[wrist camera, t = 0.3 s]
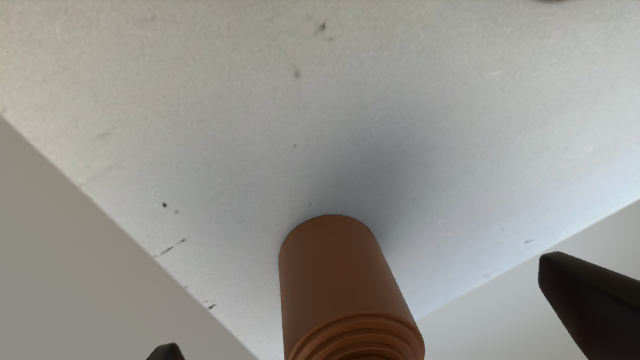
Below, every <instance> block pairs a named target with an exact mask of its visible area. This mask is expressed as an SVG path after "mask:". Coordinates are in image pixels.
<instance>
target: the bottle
mask: <svg viewBox="0 0 640 360" xmlns="http://www.w3.org/2000/svg"><path fill="white" fill-rule="evenodd" d="M278 263H279V279H280V296H281V312H282V328H283V344H284V360H424V356H425V346H424V341H423V337H422V335H421V333H420V331H419V329H418V327H417V325H416V323H415V320H414V318H413V316H412V314H411V312H410V310H409V308H408V306H407V304H406V302H405V299H404V297H403V295H402V293H401V291H400V289H399V287H398V285H397V283H396V281H395V278H394V276H393V274H392V272H391V270H390V268H389V266H388V264H387V262H386V259H385V257H384V255H383V253H382V251H381V249H380V247H379V245H378V243H377V241H376V238H375V237H374V235H373V233H372V232H371V230H370V229H369V228H368V227H367V226H366V225H364V224H363V223H361V222H360V221H358V220H356V219H353V218H351V217H347V216H342V215H325V216H320V217H316V218H313V219H310V220H308V221H306V222H304V223H303V224H301V225H299V226H298V227H297V228H295V229H294V230H293V231H292V232H291V233H290V234H289V235H288V237H287V238H286V240H285V241H284V243H283V245H282V247H281V250H280V253H279V262H278Z"/></svg>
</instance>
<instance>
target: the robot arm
mask: <svg viewBox="0 0 640 360" xmlns="http://www.w3.org/2000/svg"><path fill="white" fill-rule="evenodd" d="M538 283H539V287H540V289H541V291H542V293H543V294H544V296H545V297H546V299H547V300H548V302H549V303H550V305H551V306H552V308H553V309H554V311H555V312H556V314H557V316H558V317H559V319H560V320H561V322H562V323H563V325H564V326H565V328H566V329H567V331H568V332H569V334H570V335H571V337H572V338H573V340H574V341H575V343H576V344H577V345H578V347H579V348H580V349H581V350H582V352H583V353H584V355H585V356H586V357H587V358H588V360H640V281H638V280H636V279H633V278H630V277H628V276H625V275H622V274H620V273H617V272H614V271H612V270H609V269H606V268H603V267H601V266H598V265H595V264H593V263H590V262H587V261H584V260H582V259H579V258H576V257H573V256H571V255H568V254H565V253H563V252H559V251H555V252H551V253H546V254H543V255H542V256H541V257H540V259H539V272H538ZM146 360H185V359H184V356H183V354H182V353H181V350H180V348H179V346H178V345H177V344H176V343H169V344H165V345H160V346H158V347H157V348H156V349H155V350H154V351H153V352H152V353H151V354H150V356H149V357H148V358H147V359H146Z"/></svg>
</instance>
